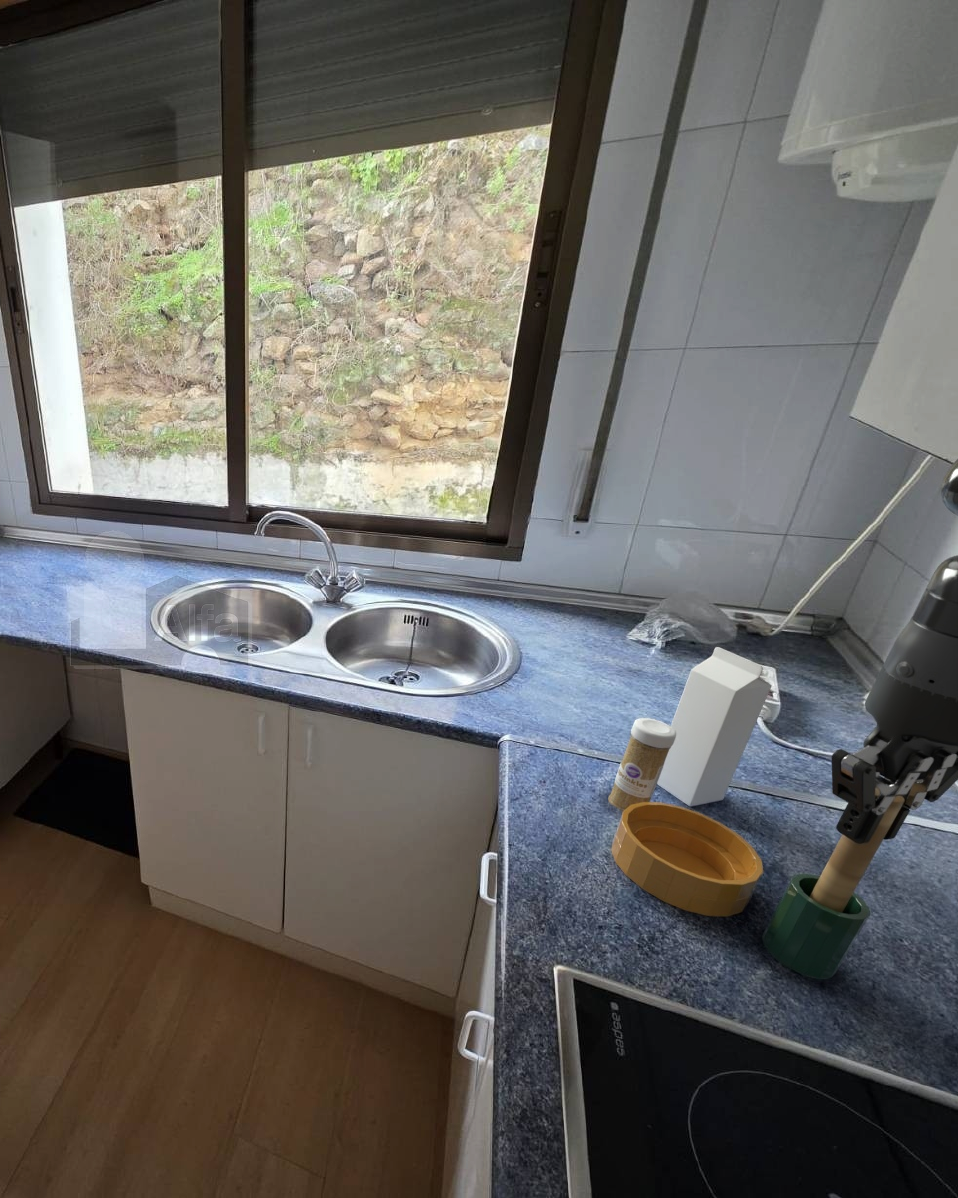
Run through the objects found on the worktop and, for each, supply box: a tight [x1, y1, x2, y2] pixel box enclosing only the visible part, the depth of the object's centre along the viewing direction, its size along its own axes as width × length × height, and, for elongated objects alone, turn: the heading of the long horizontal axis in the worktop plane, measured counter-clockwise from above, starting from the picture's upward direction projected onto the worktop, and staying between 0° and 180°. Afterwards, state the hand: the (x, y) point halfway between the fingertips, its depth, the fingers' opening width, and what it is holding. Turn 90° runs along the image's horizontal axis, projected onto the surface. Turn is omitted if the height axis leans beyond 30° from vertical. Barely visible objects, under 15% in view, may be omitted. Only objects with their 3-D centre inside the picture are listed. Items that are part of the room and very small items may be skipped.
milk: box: [657, 646, 773, 807], centre depth 87 cm, size 6×6×22 cm
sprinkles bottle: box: [607, 717, 676, 812], centre depth 85 cm, size 5×5×13 cm
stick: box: [810, 788, 905, 913], centre depth 62 cm, size 2×2×20 cm
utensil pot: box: [761, 873, 871, 980], centre depth 65 cm, size 6×6×9 cm
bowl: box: [610, 801, 764, 918], centre depth 76 cm, size 13×13×6 cm
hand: (863, 834), depth 60 cm, fingers closed on stick, 2 cm apart
